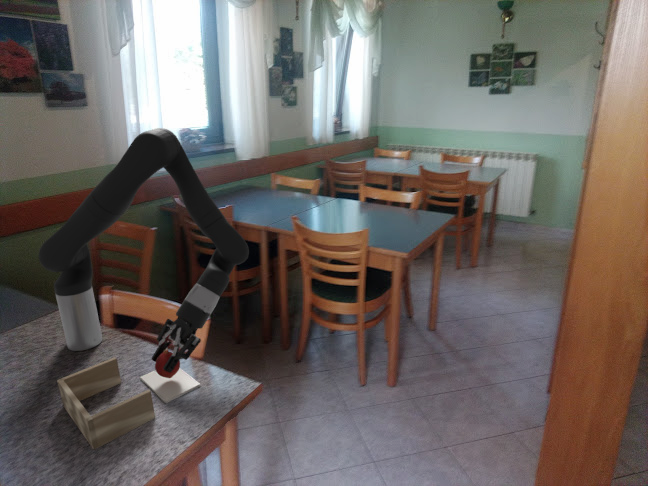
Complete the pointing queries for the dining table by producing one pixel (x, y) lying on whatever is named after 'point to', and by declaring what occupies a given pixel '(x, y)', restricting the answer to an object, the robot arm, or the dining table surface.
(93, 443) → the open box
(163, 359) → the onion
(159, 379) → the board
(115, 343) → the dining table surface
